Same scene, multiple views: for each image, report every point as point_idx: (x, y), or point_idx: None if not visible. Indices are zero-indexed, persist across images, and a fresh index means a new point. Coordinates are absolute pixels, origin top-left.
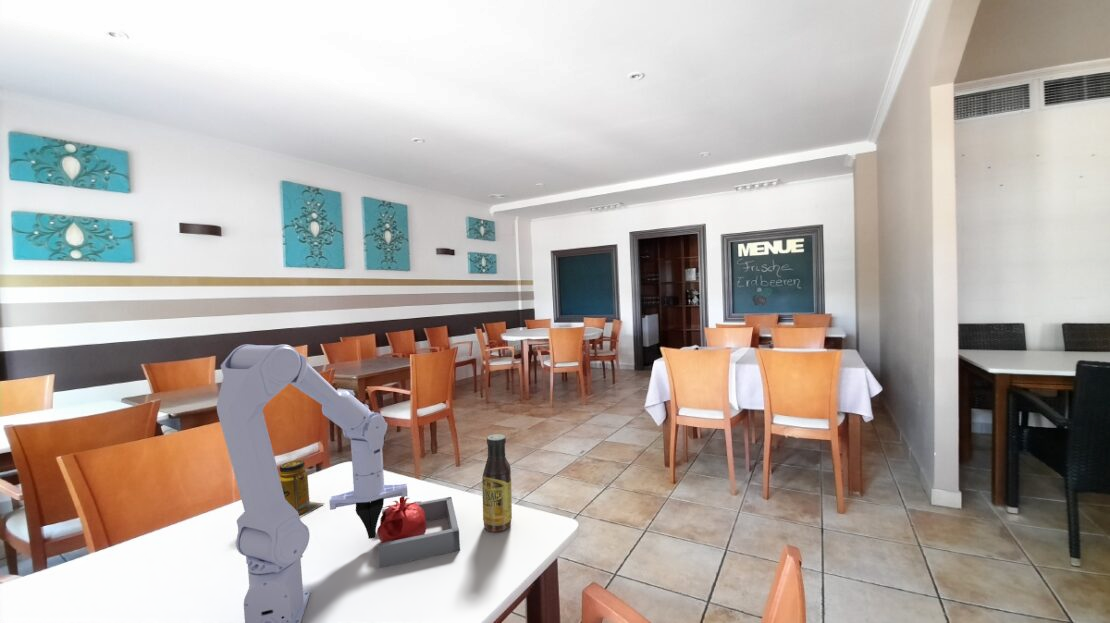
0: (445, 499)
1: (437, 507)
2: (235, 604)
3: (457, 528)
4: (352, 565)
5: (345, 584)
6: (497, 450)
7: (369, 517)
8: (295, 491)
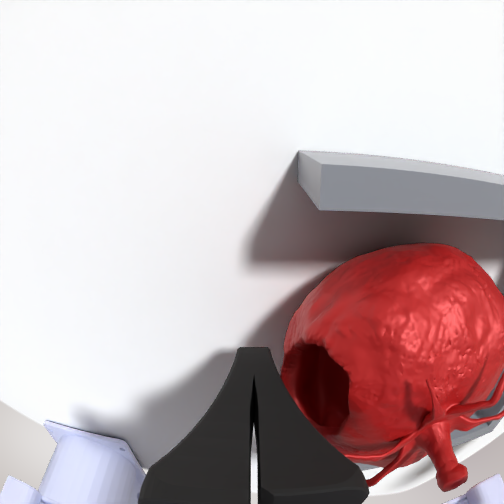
0: None
1: None
2: (6, 394)
3: (495, 425)
4: (195, 396)
5: None
6: None
7: (250, 488)
8: None
